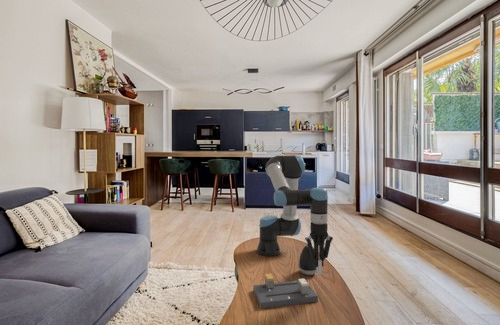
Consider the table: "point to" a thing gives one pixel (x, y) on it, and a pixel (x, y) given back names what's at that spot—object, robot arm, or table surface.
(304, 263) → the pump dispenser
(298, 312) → the table surface
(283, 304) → the console
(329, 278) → the table surface
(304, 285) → the block
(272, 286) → the amber fader
